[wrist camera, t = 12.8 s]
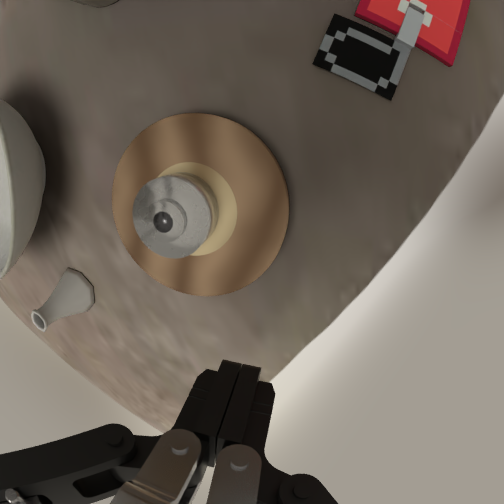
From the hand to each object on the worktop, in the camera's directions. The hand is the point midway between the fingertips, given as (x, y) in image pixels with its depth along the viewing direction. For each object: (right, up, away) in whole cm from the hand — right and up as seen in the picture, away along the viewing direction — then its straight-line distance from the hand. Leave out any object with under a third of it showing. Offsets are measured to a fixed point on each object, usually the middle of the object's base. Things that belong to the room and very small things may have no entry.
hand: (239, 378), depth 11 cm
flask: (-27, -1, +31) cm, 41 cm away
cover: (-7, +9, +20) cm, 23 cm away
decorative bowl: (-35, +18, +26) cm, 47 cm away
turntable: (-5, +10, +22) cm, 25 cm away
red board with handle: (+17, +34, +9) cm, 39 cm away
